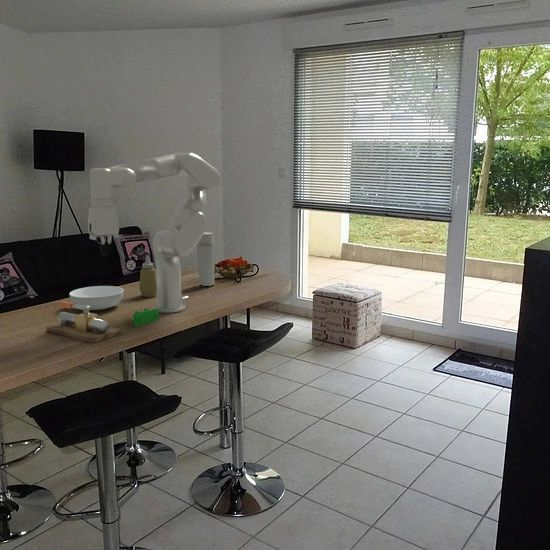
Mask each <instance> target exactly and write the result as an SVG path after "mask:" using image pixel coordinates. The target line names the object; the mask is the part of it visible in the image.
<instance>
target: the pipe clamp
mask: <svg viewBox="0 0 550 550" xmlns="http://www.w3.org/2000/svg"><path fill="white" fill-rule="evenodd" d="M159 313H160V312H158V309H157V308H155V309H154V308H152V309H148V308H144V309H143V310H141V311H134V313H133V315H132V317H133V321H132V322H133V327H135V328H137V327H140V326H143V325H147V324H149V323H153V322H156V321H159V319H160V317H159Z"/></svg>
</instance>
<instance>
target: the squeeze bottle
mask: <svg viewBox="0 0 550 550" xmlns="http://www.w3.org/2000/svg"><path fill="white" fill-rule="evenodd" d="M141 266H142V268H141V269H140V273H139V274H140V276H139V292H140V293H141V296H142V297H143V296H145V297H144V298H153V297H152V296H154V297H156V296H157V278H156V267H155V268H154V263H153V262H151V257H150V255H149V254H146V256H145V261H144V262H143V263H142V265H141ZM155 295H156V296H155Z"/></svg>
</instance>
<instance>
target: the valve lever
mask: <svg viewBox="0 0 550 550" xmlns="http://www.w3.org/2000/svg"><path fill="white" fill-rule="evenodd" d="M58 304H59V307H60V308H65V309H77V310H81V311H82V312H83V313H84V315H88V314H89V313H90V311H91V310H90V306H89V305H85V306H84V305H79V304H76V303H75V302H72V301H69V300H61V301H59V302H58Z"/></svg>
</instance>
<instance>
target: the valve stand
mask: <svg viewBox="0 0 550 550" xmlns="http://www.w3.org/2000/svg"><path fill="white" fill-rule="evenodd" d="M46 332H47V333H52V332H53V333H52V334H56V333H57V335H60V334H62V335H61V336H64V335H66V336H65V337H68V336H70V337H69V338H72V337H74V338H73V339H76V338H77V339H76V340H80V339H81V340H80V341H83V340H85V341H84V342H87V341H89V342H88V343H91V342H92V343H93V344H95V343H98V342H101V341H103V339H104V340H106V338H107V339H110V338H113V337H115V336H116V337H117V336H119V335H122V329H119V328H117V327H116V328H115V327H111V326H109V329H108V330H107V331H106V332H102V333H99V334H94V333H92V331H89V332H83V331H79V330H76V325H70V326H66V327H65V326H61V322H60V323H55V324H52V325H49V326H48V325H47V326H46ZM109 337H110V338H109ZM100 340H101V341H100ZM97 341H98V342H97ZM94 342H95V343H94Z"/></svg>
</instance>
